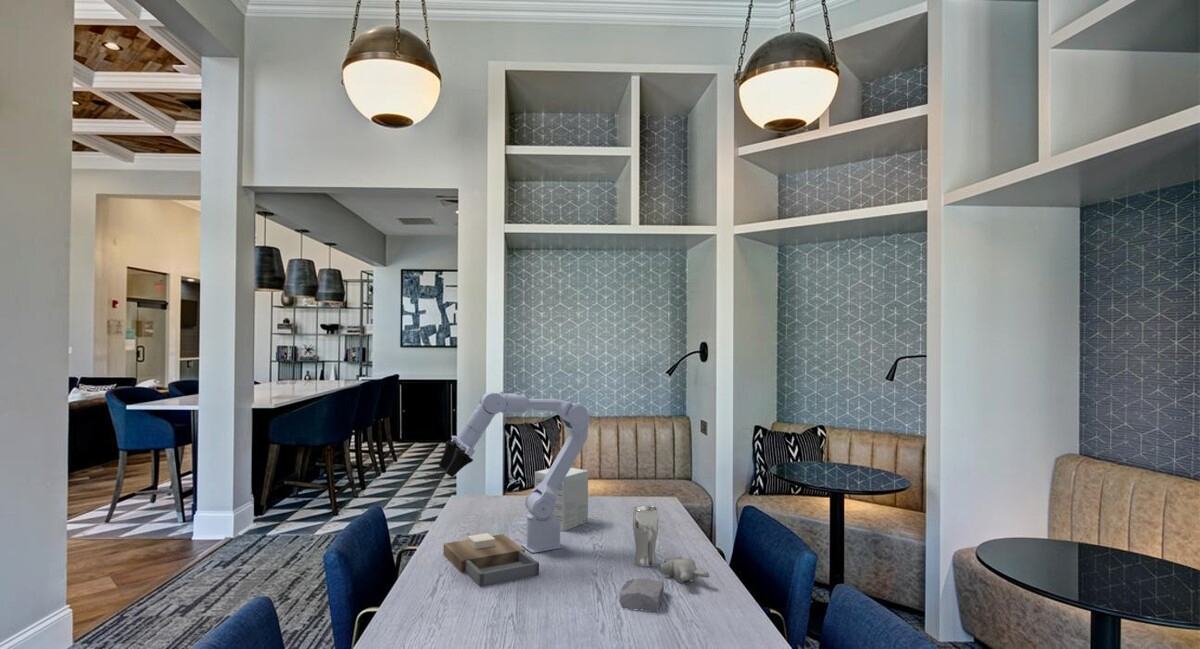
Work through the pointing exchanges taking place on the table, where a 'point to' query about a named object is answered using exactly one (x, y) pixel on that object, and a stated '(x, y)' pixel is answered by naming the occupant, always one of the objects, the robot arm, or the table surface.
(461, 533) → the table surface
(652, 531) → the beer glass
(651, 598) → the stone block
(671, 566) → the bunny figurine
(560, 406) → the robot arm
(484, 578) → the box
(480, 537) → the tile
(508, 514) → the table surface
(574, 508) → the supplement box
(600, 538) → the table surface
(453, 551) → the drawer casing
